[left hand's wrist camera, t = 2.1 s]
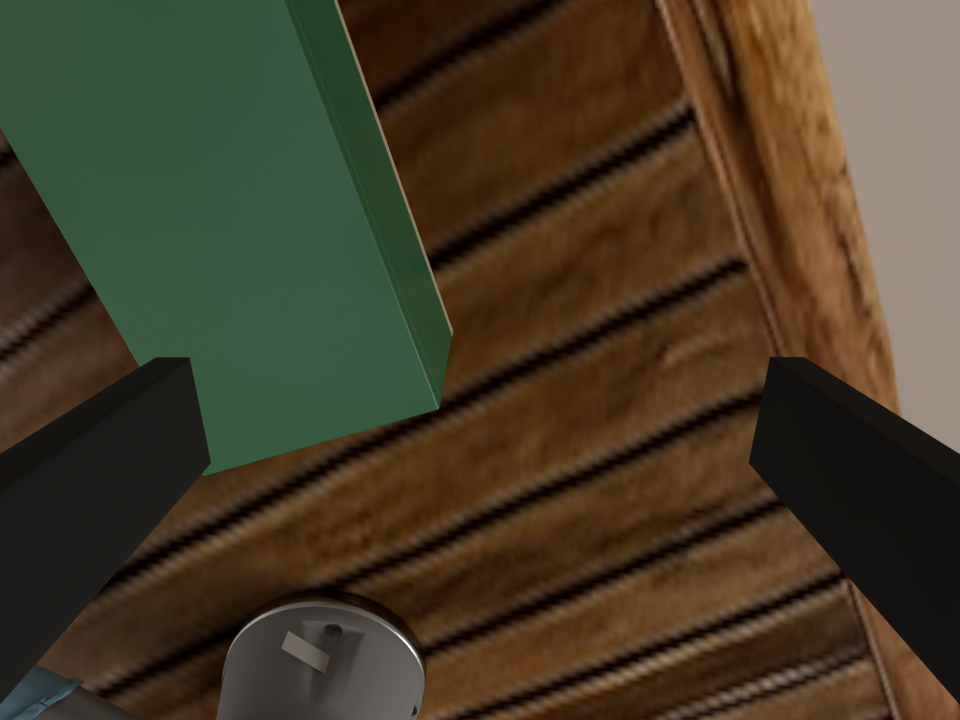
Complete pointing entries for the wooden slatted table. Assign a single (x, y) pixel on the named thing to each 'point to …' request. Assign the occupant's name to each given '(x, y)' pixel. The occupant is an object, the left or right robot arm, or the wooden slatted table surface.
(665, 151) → the wooden slatted table surface
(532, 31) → the wooden slatted table surface
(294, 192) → the cabinet
